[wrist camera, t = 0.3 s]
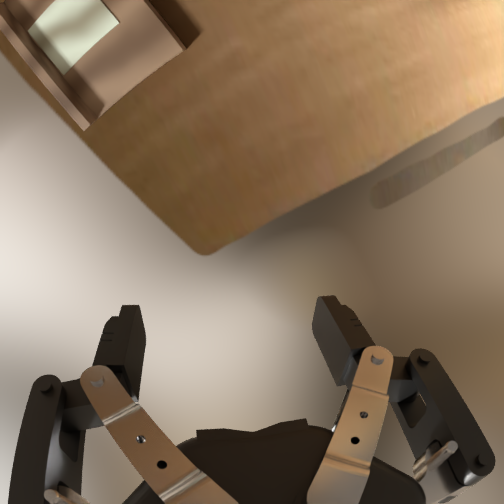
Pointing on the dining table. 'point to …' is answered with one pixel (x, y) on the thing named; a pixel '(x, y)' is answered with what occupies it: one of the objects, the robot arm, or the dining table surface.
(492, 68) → the dining table surface
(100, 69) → the platform
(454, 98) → the dining table surface
